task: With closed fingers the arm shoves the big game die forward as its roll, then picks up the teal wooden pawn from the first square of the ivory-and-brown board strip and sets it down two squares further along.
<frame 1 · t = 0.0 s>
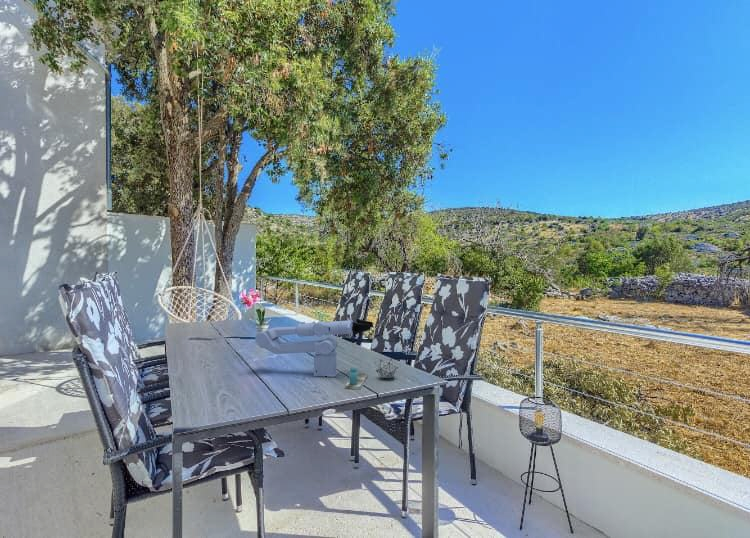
hand: (371, 325, 170), 22 cm above the table, tool horizontal, fingers open, 7 cm apart
game die: (386, 379, 167), on the table
pawn: (353, 384, 155), point 1 cm above the table, touching board
board: (356, 382, 162), on the table
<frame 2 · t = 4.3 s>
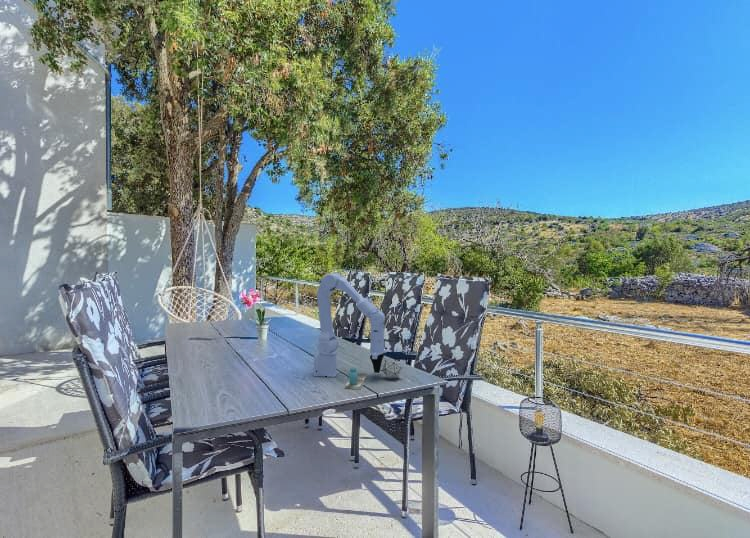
hand: (377, 372, 168), 2 cm above the table, tool pointing down, fingers closed
game die: (391, 379, 167), on the table, touching gripper
everything else where it was.
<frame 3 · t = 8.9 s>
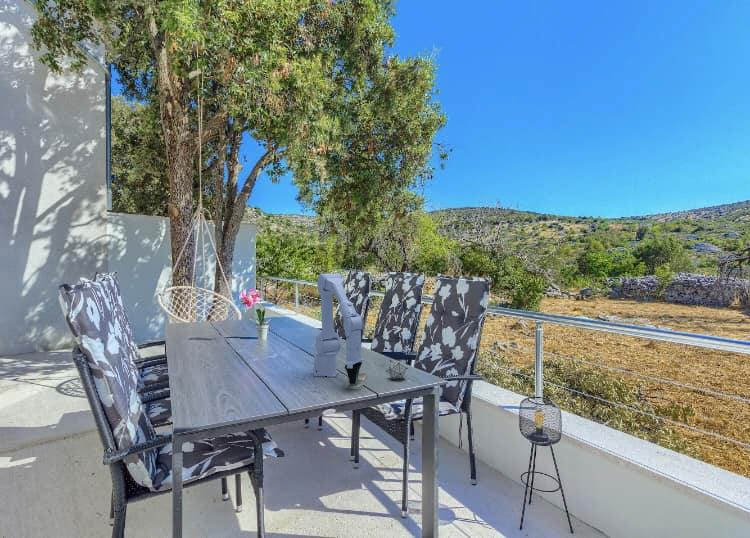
hand: (353, 382, 155), 2 cm above the table, tool pointing down, fingers closed on pawn, 3 cm apart
game die: (396, 379, 166), on the table
pawn: (353, 384, 155), point 1 cm above the table, touching board, gripper
when the fingers open (3 cm above the table, at t = 11.7 s): pawn stays where it is, resting on board.
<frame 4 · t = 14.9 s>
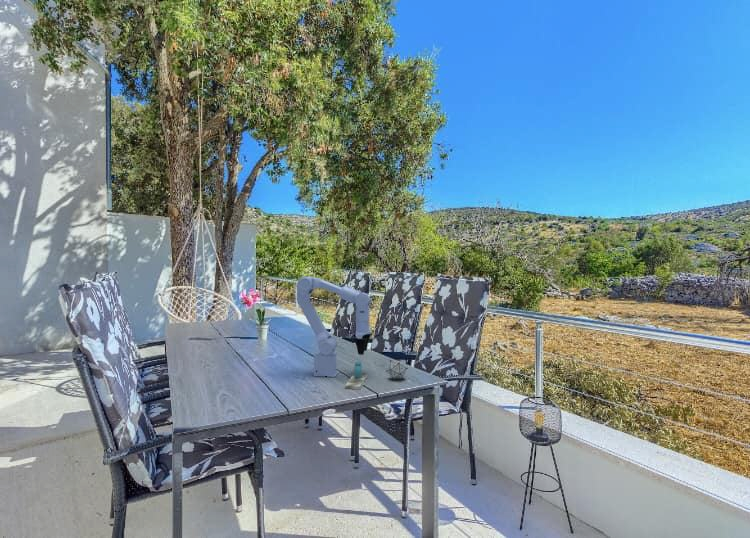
hand: (362, 352, 172), 10 cm above the table, tool pointing down, fingers open, 7 cm apart
pawn: (357, 377, 164), point 1 cm above the table, touching board
everything else where it was.
at the end: game die moved 4.2 cm from its start; pawn 0.1 cm from the target spot on the board, point 1.2 cm above the board's base; pawn tilted 2° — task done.
